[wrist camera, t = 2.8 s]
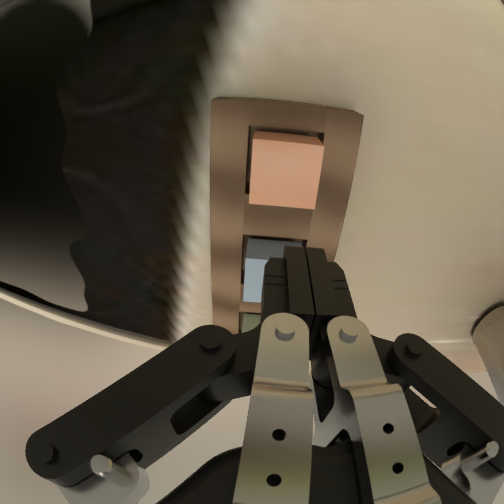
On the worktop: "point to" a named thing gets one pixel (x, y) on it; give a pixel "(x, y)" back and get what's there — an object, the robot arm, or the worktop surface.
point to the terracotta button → (285, 169)
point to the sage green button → (250, 322)
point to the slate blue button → (260, 264)
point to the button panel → (266, 216)
